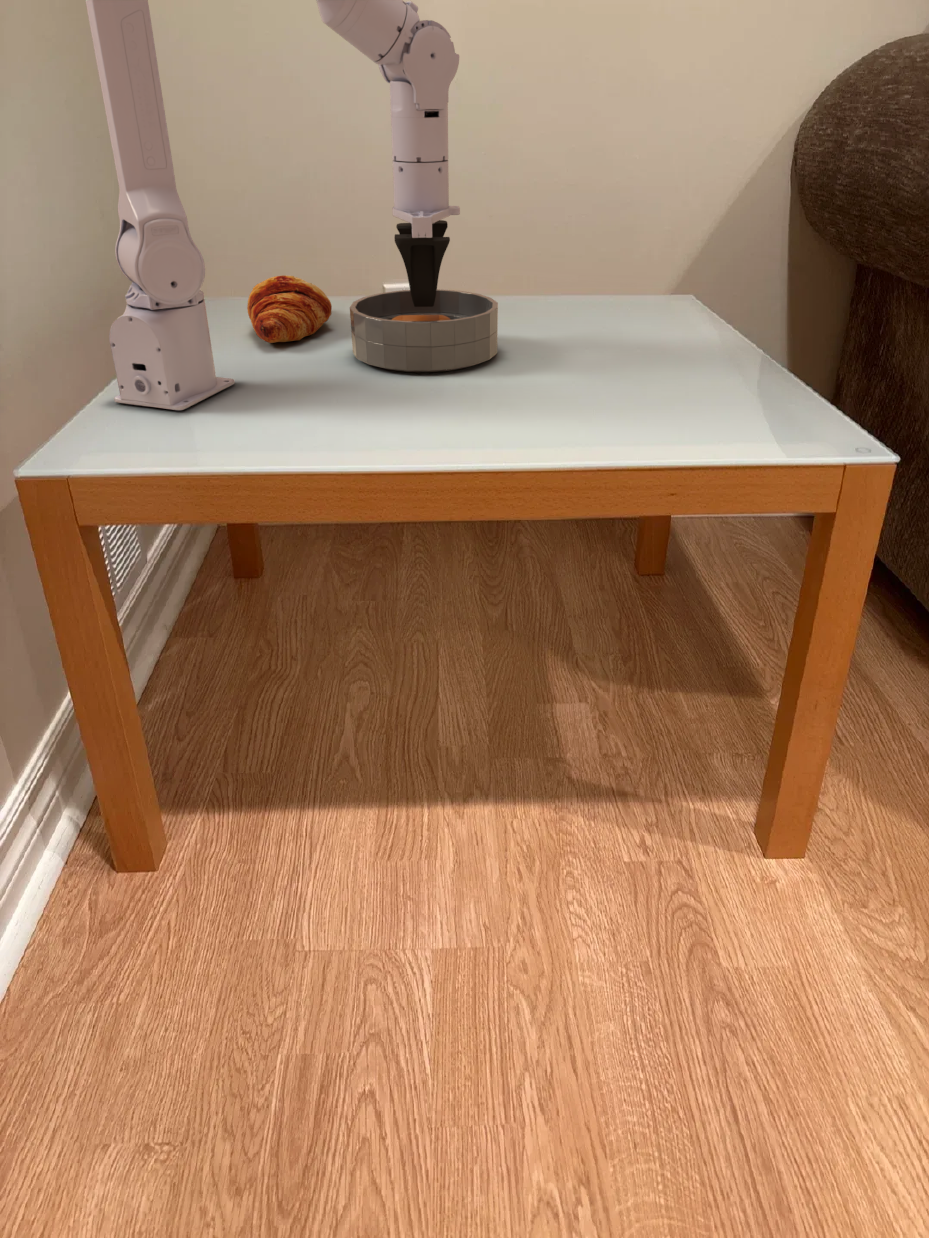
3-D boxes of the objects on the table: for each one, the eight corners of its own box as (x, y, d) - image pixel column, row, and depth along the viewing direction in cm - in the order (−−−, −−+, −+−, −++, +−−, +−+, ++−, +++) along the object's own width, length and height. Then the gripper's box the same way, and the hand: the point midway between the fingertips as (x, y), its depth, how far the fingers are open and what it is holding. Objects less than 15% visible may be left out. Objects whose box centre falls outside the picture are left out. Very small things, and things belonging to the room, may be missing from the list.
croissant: (288, 335, 125) (255, 281, 121) (351, 299, 122) (319, 243, 119) (252, 378, 106) (211, 315, 103) (325, 337, 104) (286, 271, 100)
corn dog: (386, 360, 102) (384, 329, 99) (386, 339, 105) (384, 308, 102) (480, 359, 103) (481, 328, 100) (479, 337, 105) (479, 306, 102)
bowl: (467, 381, 95) (467, 327, 92) (328, 367, 100) (324, 315, 97) (515, 343, 108) (516, 295, 105) (390, 332, 113) (388, 285, 110)
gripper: (462, 167, 88) (462, 313, 95) (457, 154, 100) (457, 284, 107) (388, 167, 87) (394, 313, 94) (392, 154, 100) (397, 285, 107)
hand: (423, 298), depth 101 cm, fingers open, 7 cm apart
